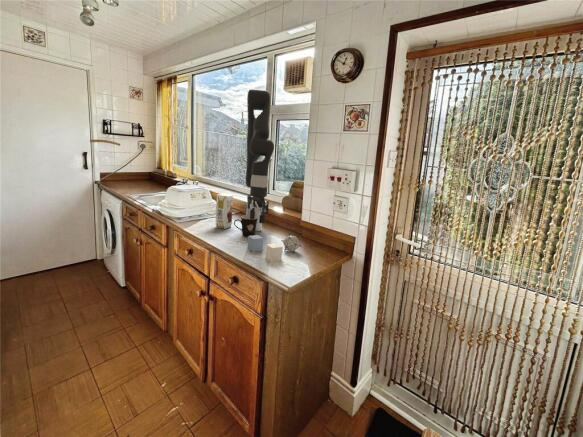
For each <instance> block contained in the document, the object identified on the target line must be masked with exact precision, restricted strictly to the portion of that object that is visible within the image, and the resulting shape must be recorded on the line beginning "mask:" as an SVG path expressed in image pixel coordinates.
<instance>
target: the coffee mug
mask: <svg viewBox="0 0 583 437" xmlns="http://www.w3.org/2000/svg"><path fill="white" fill-rule="evenodd" d="M257 219H258V217H255V218H254V219H250V216H246V215H241V216H240V219H238V218H237V219H235V220H234V222H233V225H234V226H235V227H236V229H238V230H239V231H240V232H241V235H242V237H243V238H244V237H245V238H248V236H253V235H256V231H255V230H256V224H257ZM236 222H240V224H241V228H240V227H238V226H237V225H236Z"/></svg>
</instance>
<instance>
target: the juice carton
mask: <svg viewBox="0 0 583 437" xmlns="http://www.w3.org/2000/svg"><path fill="white" fill-rule="evenodd" d="M233 196H234V195H233V194H232V193H224V192H223V193H218V194H216V206H215V228H217V229H224V230H227V229H228V228H231V227H232V223H233V202H234V197H233Z"/></svg>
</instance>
